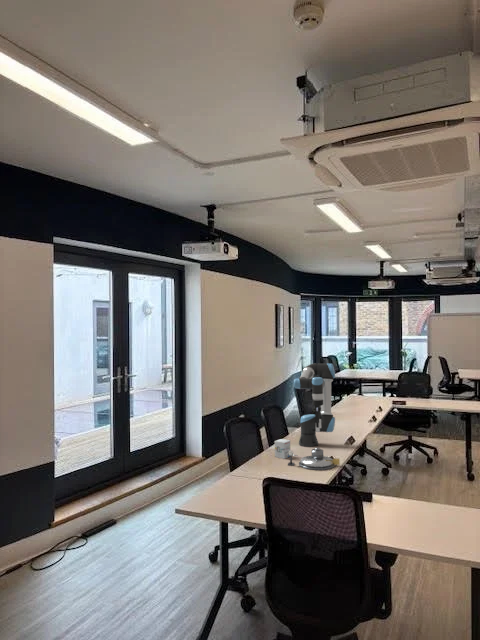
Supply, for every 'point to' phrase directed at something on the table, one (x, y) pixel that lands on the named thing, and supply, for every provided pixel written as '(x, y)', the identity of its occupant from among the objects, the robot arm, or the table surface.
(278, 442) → the ink box
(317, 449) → the cover
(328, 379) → the robot arm
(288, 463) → the dial post
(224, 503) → the table surface
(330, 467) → the base
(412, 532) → the table surface
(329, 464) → the turntable
